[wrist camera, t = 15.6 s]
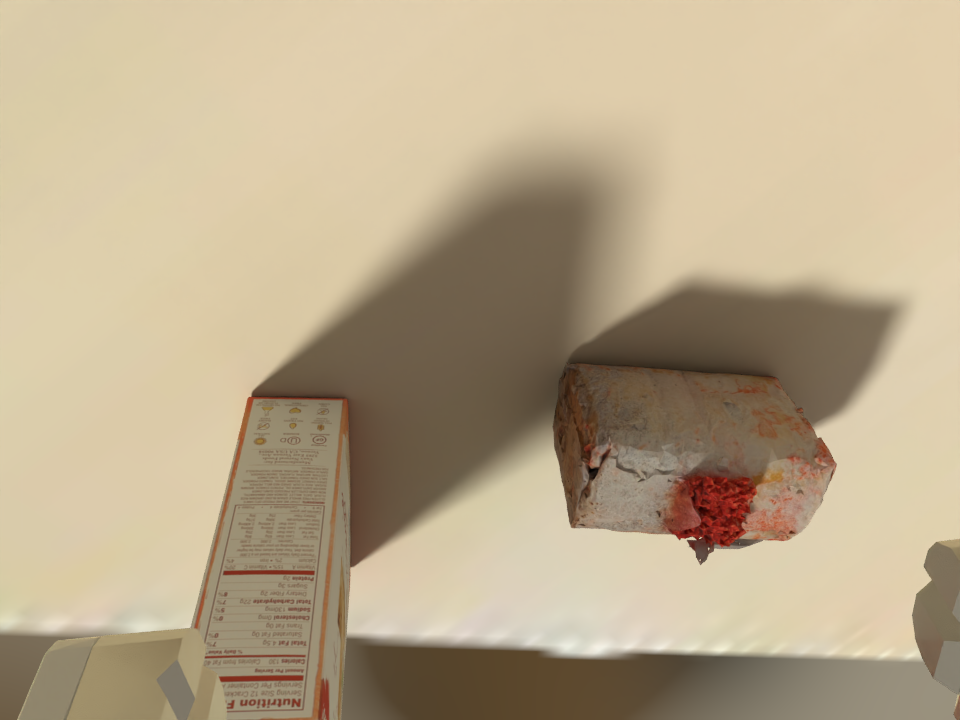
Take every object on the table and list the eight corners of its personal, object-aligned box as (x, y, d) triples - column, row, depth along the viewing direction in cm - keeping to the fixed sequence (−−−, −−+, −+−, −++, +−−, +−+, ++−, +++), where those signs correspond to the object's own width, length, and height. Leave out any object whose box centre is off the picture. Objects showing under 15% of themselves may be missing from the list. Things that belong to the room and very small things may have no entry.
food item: (801, 360, 51) (876, 476, 42) (760, 468, 55) (820, 592, 47) (564, 342, 49) (594, 459, 41) (541, 455, 53) (563, 581, 45)
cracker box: (357, 570, 58) (332, 918, 40) (262, 569, 57) (194, 922, 40) (357, 393, 50) (325, 730, 33) (246, 390, 49) (154, 732, 32)
